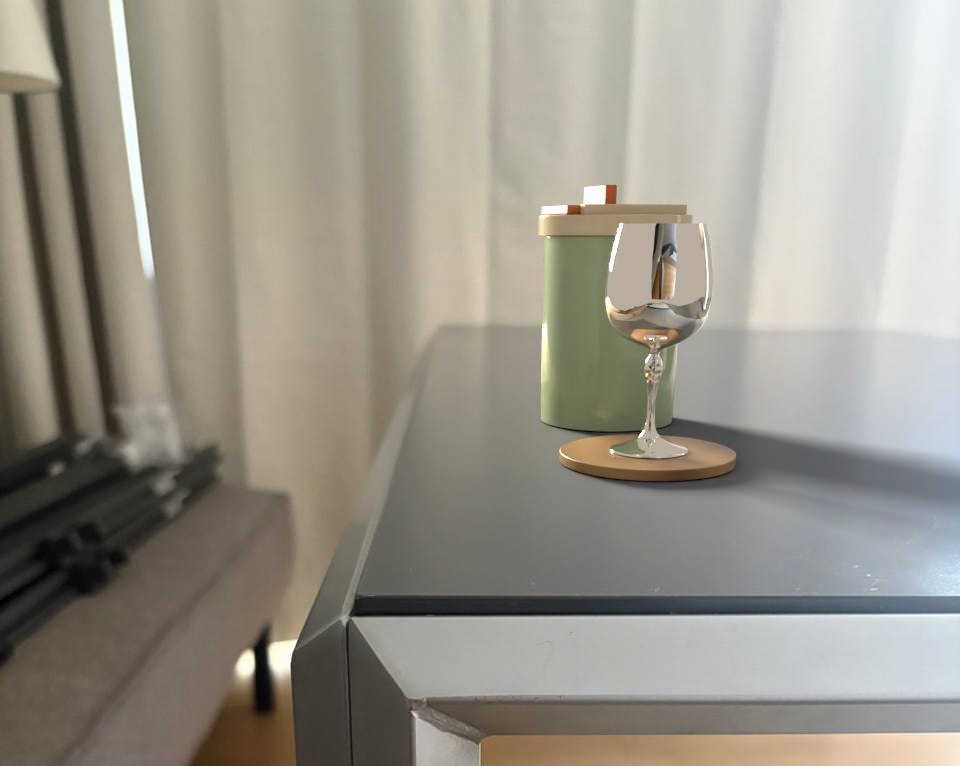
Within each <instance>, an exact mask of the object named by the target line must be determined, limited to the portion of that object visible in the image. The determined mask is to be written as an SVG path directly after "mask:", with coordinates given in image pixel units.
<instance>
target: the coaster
mask: <svg viewBox="0 0 960 766" xmlns="http://www.w3.org/2000/svg"><path fill="white" fill-rule="evenodd" d="M639 435H640V434H612V435H611V434H610V435H600V436H592V437H585V438H580V439H575V440H572V441H570V442H567V443H565V444H563V445H562V446H561V447H560V448H559V456H558V457H559V462H560V464H561V465H562V466H564V467H565V468H568V469H569V470H572V471H575V472H578V473H581V474H584V475H590V476H594V477H599V478H606V479H612V480H613V479H614V480H624V481H635V482H637V481H638V482H682V481H694V480H695V481H696V480H703V479H709V478H714V477H718V476H722V475H725V474H727V473H731V472H732V471H733V470H734V469H735V468H736V465H737V453H736V451H735V450H733V449H732V448H730V447H727V446H725V445H723V444H719V443H716V442H714V441H713V442H712V441H708V440H703V439H698V438H692V437H684V436H676V435H675V436H674V435H662V434H661V435H660V434H658V435H659V436H660V437H661V438H662V439H664V440H666V441H668V442H670V443H674V444H678V445H681V446H684V447H686V448H687V449H688V453H687V454H685V455H683V456H679V457H674V458H662V459H647V458H633V457H626V456H621V455H617V454H614V453H612V452H611V451H610V450H609V449H610V446H612V445H614V444H617V443H621V442H627V441H630V440H633V439H635V438H637V437H638V436H639Z"/></svg>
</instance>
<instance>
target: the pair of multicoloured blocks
mask: <svg viewBox="0 0 960 766" xmlns="http://www.w3.org/2000/svg"><path fill="white" fill-rule="evenodd" d="M583 190H584V191H583V204H617V195H618V194H617V192H618V185H617V184H599V185H587V186H584V189H583ZM541 215H581V204H564V205H545V206H543V205H542V206H541Z"/></svg>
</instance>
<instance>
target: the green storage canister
mask: <svg viewBox="0 0 960 766" xmlns="http://www.w3.org/2000/svg"><path fill="white" fill-rule="evenodd" d="M580 205H581V215H542V214H541V215H538V217H537V235H538V236H543V259H542V261H543V266H542V307H541V308H542V313H541V314H542V315H541V359H540V360H541V361H540V363H541V365H540V408H539V409H540V412H539V419H540V420H541V422H542V423H544V424H546V425H549V426H552V427H556V428H561V429H566V430H573V431H584V432H597V433H598V432H599V433H625V432H642V431H643V430H644V427H645V423H646V416H647V403H648V390H647V382H646V378H645V372H644V367H645V363H646V360H647V358H648V357H649V355H650V352H649V350H648V349H646V348H643V347H640V346H637V345H635V344H633V343H631V342H629V341H627V340H626V339H624V338H623V337H621V336H620V335H619V334H617V333H616V332H615V330H614V329H613V328H612V326H611V324H610V322H609V320H608V317H607V313H606V308H605V281H606V274H607V268H608V263H609V258H610V253H611V249H612V245H613V242H614V238H615V234H616V230H617V227H618V224H657V223H694V215H693V214H687V210H688V204H654V203H653V204H651V203H650V204H648V203H647V204H646V203H644V204H643V203H628V204H627V203H616V204H584V203H581V204H580ZM678 347H679V344H677V345H674V346H671V347H668V348H665V349H662V350H661V351H660V353H659V355H660V357H661V359H662V363H663V371H662V376H661V378H660V380H659V385H658V389H657V393H656V403H655V427H656V430H657V429H661V428H664V427H667V426H670V425H671V424H672V423H673V419H674V418H673V417H674V403H675V390H676V377H677V365H678V364H677V363H678Z"/></svg>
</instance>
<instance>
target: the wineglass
mask: <svg viewBox="0 0 960 766" xmlns="http://www.w3.org/2000/svg"><path fill="white" fill-rule="evenodd" d="M713 261H714V259H713V251H712V243H711V238H710V232H709V226H708V223H699V222H698V223H697V222H696V223H695V222H693V223H657V224H618V227H617V230H616V234H615V238H614V242H613V245H612V249H611V253H610V258H609V263H608V268H607V274H606V281H605V308H606V313H607V317H608V320H609V322H610V324H611V326H612V328H613V329H614V330H615V332H616V333H617V334H619V335H620V336H621V337H623V338H624V339H626V340H627V341H629V342H631V343H633V344H635V345H637V346H640V347H643V348H646V349H648V350H649V352H650V355H649V357H648V358H647V360H646V363H645V367H644V372H645V378H646V382H647V390H648V403H647V416H646V423H645V427H644V430H642V431H641V433H640V434H638V435H639V436H638V437H637V438H635V439H633V440H630V441H627V442H621V443H617V444H614V445H612V446H610V449H609V450H610V451H611V452H612V453H614V454H617V455H621V456H626V457H633V458H647V459H662V458H674V457H679V456H683V455H685V454H687V453H688V449H687V448H686V447H684V446H681V445H678V444H674V443H670V442H668V441H666V440H664V439H662V438H661V437H660V436H659V435H660V434H659V433H658V431H657V429H656V427H655V403H656V393H657V389H658V385H659V380H660V378H661V376H662V371H663V363H662V359H661V357H660V355H659V353H660V351H661V350H662V349H665V348H668V347H671V346H674V345H677V344H678V345H679V344H681V343H683V342H685V341H687V340H689V339H690V338H692V337H693V336H695V335H696V334H697V333H698V332H699V331H700V330H701V329H702V327H703V326H704V324H705V323H706V321H707V320H708V317H709V313H710V310H711V306H712V301H713V295H714V262H713Z"/></svg>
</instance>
